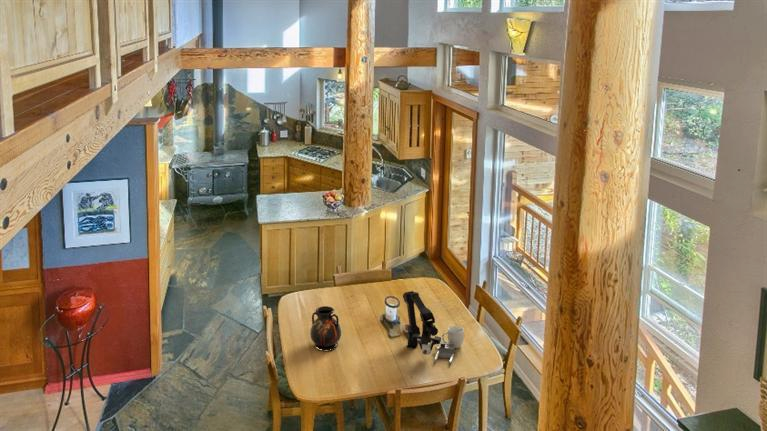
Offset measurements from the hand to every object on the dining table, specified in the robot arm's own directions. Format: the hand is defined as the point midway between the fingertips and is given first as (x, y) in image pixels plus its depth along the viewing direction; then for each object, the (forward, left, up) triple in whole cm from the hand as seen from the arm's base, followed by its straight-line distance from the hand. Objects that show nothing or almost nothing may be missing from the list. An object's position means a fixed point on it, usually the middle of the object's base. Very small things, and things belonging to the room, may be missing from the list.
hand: (426, 350), depth 433 cm
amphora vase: (-71, -1, -7) cm, 71 cm away
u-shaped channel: (+11, +5, -7) cm, 13 cm away
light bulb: (0, -1, -2) cm, 2 cm away
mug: (+15, +22, -7) cm, 28 cm away
